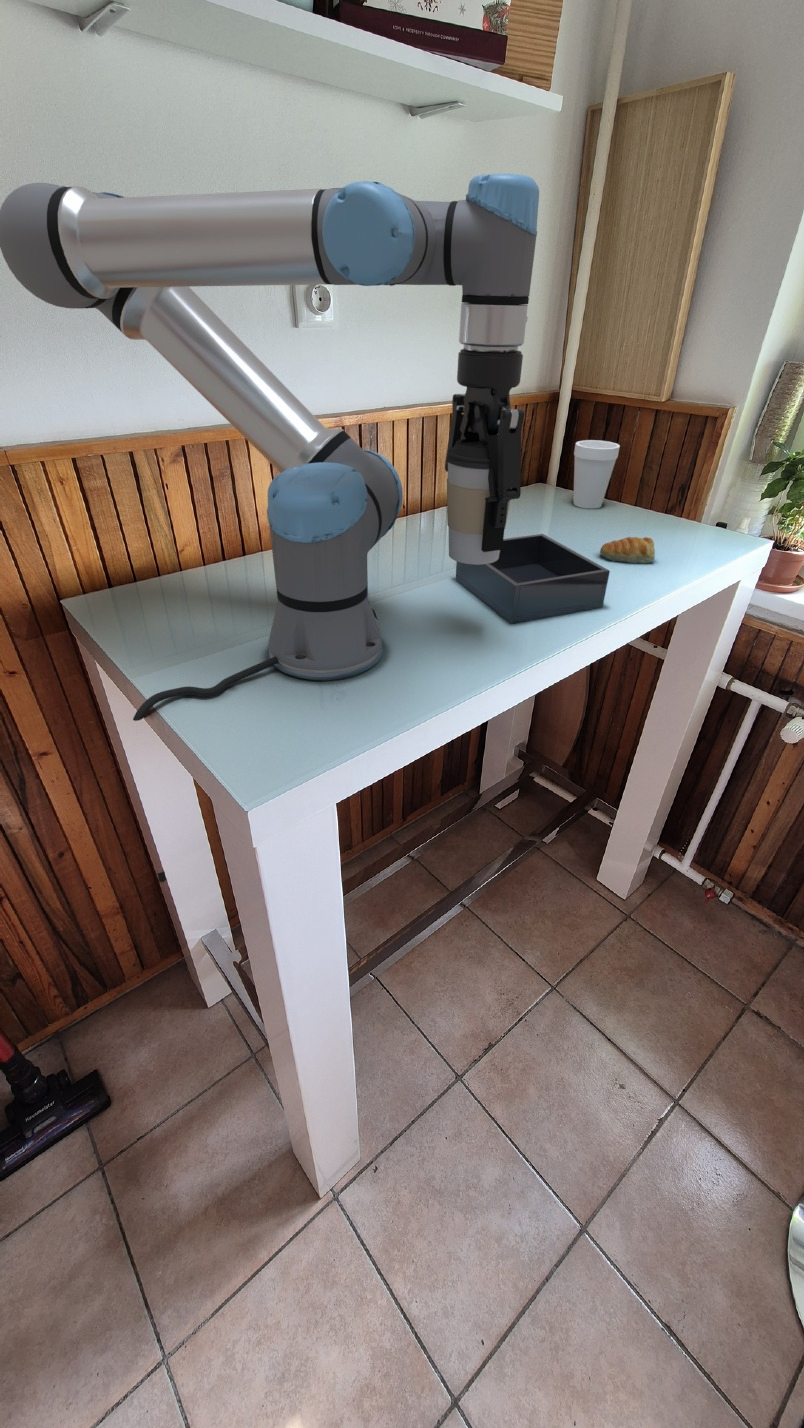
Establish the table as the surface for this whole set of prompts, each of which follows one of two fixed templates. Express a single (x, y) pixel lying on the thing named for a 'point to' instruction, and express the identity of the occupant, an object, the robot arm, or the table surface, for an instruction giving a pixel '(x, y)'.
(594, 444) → the foam cup
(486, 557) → the coffee cup
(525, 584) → the dark grey open box
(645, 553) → the pastry
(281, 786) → the table surface
